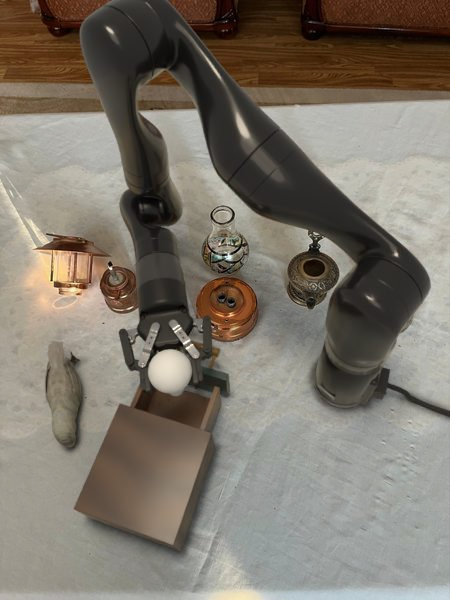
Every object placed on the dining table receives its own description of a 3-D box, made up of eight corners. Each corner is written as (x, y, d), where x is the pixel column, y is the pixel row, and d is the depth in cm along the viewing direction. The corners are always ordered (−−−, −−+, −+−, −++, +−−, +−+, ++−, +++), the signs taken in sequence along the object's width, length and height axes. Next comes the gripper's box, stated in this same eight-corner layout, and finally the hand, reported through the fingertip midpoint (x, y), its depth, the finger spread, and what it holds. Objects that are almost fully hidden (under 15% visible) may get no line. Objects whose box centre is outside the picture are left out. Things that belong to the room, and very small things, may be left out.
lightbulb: (204, 392, 80) (198, 366, 70) (172, 417, 78) (161, 393, 68) (180, 363, 82) (172, 334, 72) (148, 387, 80) (135, 360, 71)
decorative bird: (55, 452, 84) (39, 439, 78) (52, 362, 92) (37, 344, 86) (88, 445, 85) (75, 432, 78) (82, 356, 93) (70, 337, 86)
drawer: (166, 343, 92) (160, 323, 86) (239, 364, 90) (238, 345, 83) (122, 449, 83) (111, 436, 77) (201, 476, 81) (197, 465, 74)
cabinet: (131, 422, 86) (119, 403, 78) (215, 449, 84) (212, 432, 75) (91, 518, 79) (73, 509, 71) (181, 551, 77) (173, 545, 68)
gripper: (109, 283, 78) (116, 390, 70) (205, 268, 78) (223, 372, 70) (119, 307, 84) (127, 407, 76) (208, 293, 85) (225, 391, 77)
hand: (173, 390), depth 73 cm, fingers closed on lightbulb, 6 cm apart
